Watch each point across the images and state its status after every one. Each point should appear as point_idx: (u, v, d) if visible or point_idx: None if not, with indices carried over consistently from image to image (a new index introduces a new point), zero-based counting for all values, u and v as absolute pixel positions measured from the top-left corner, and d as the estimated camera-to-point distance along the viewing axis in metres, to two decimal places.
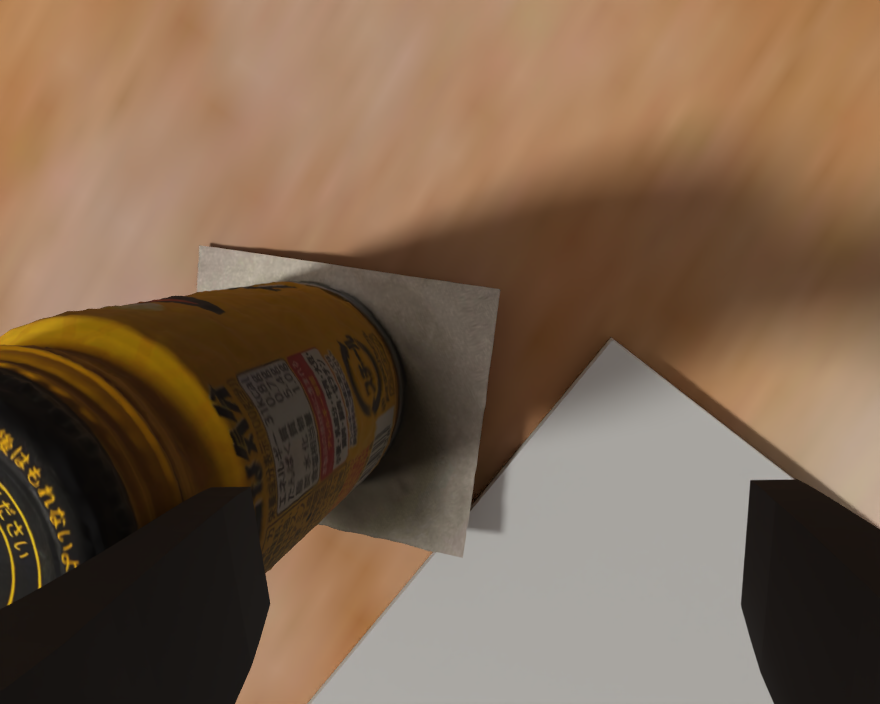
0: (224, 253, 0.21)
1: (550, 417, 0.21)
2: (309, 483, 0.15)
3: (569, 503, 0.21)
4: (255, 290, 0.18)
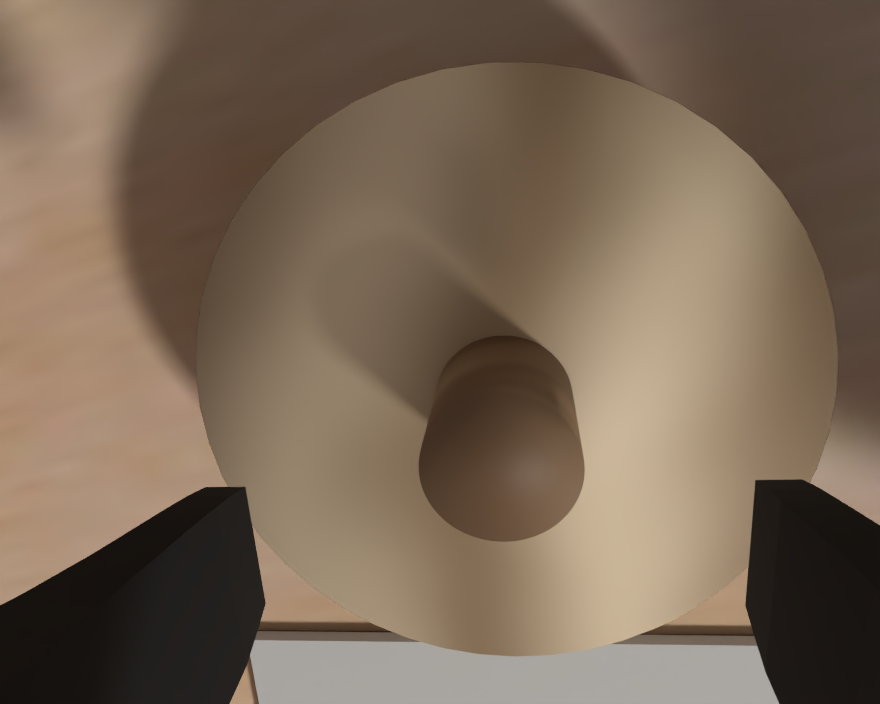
0: None
1: None
2: None
3: None
4: None
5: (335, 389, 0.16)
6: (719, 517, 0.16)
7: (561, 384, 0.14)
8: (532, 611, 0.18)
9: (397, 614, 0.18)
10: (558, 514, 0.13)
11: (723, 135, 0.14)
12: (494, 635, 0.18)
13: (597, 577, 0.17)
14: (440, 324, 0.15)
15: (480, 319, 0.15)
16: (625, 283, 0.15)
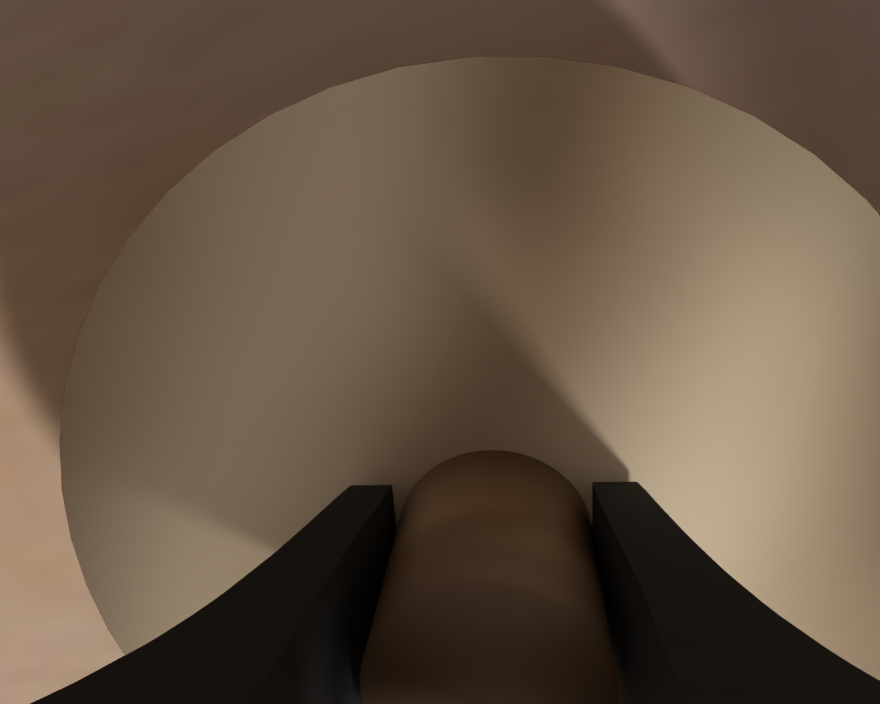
0: None
1: None
2: None
3: None
4: None
5: (257, 519, 0.11)
6: None
7: (579, 536, 0.10)
8: None
9: None
10: None
11: (825, 167, 0.09)
12: None
13: None
14: (402, 434, 0.11)
15: (461, 427, 0.11)
16: (672, 381, 0.10)
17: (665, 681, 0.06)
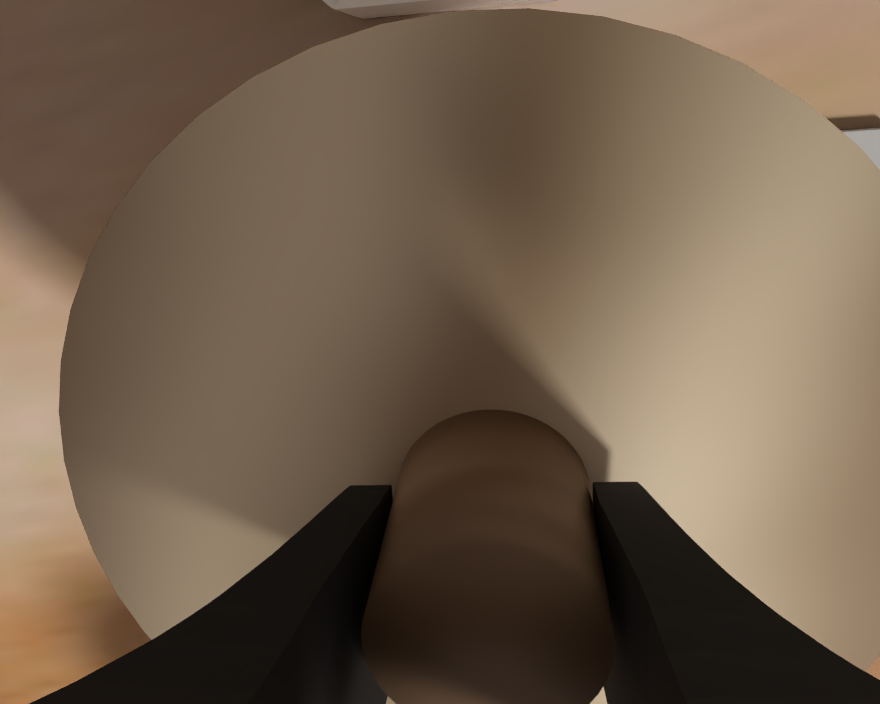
0: None
1: None
2: None
3: None
4: None
5: (258, 483, 0.12)
6: None
7: (574, 491, 0.10)
8: None
9: None
10: (575, 703, 0.09)
11: (817, 114, 0.09)
12: None
13: None
14: (398, 396, 0.11)
15: (456, 388, 0.11)
16: (665, 335, 0.10)
17: (666, 681, 0.06)
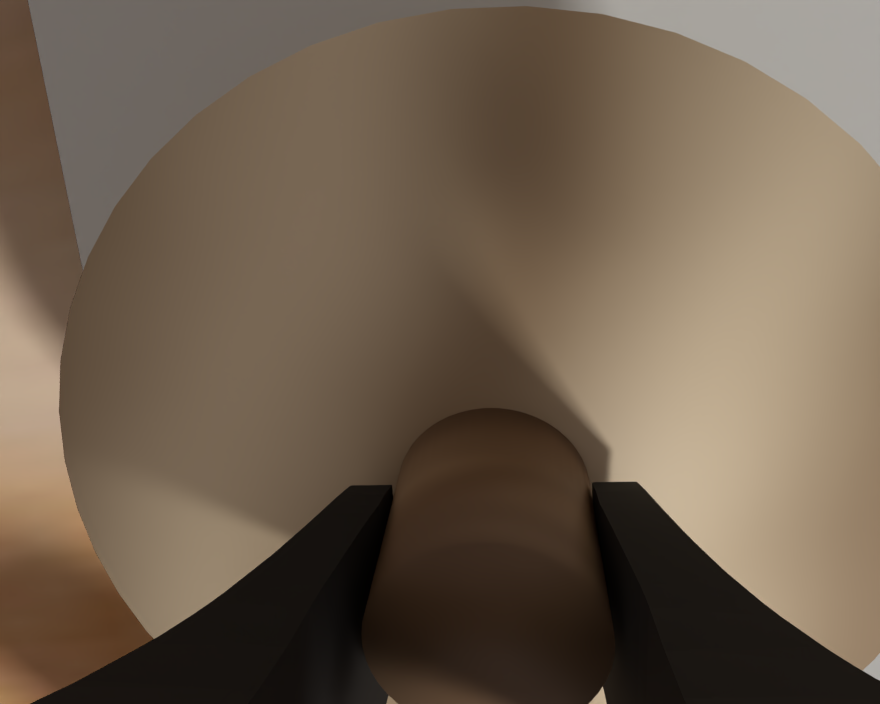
0: None
1: None
2: None
3: None
4: None
5: (259, 482, 0.12)
6: None
7: (574, 490, 0.10)
8: None
9: None
10: (575, 702, 0.09)
11: (817, 111, 0.09)
12: None
13: None
14: (397, 395, 0.11)
15: (455, 386, 0.11)
16: (665, 333, 0.10)
17: (665, 681, 0.06)
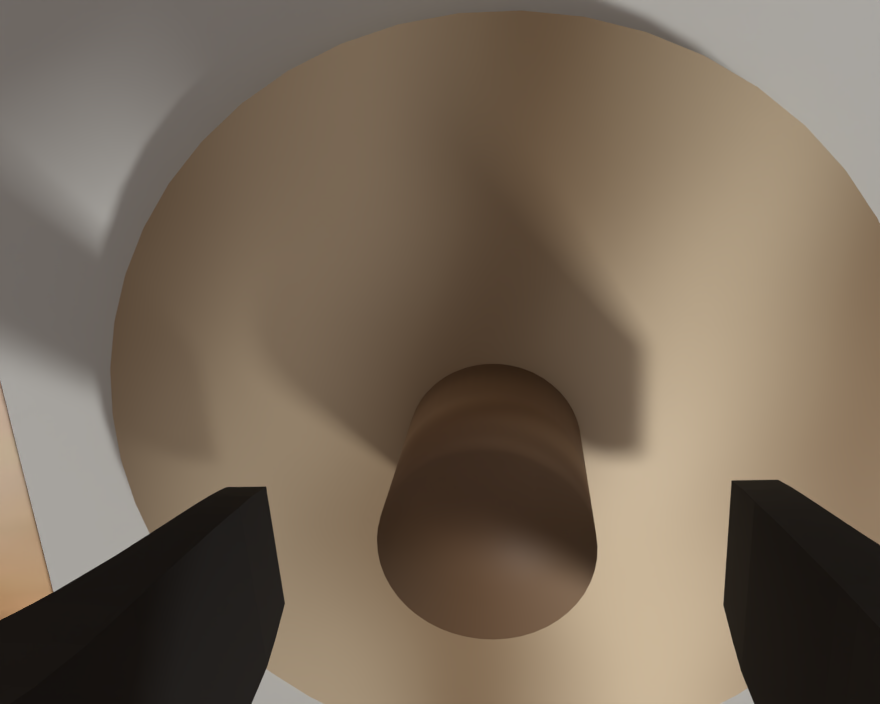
0: None
1: None
2: None
3: None
4: None
5: (285, 434, 0.13)
6: None
7: (564, 427, 0.11)
8: (538, 697, 0.14)
9: (374, 703, 0.15)
10: (564, 604, 0.10)
11: (767, 98, 0.11)
12: None
13: (617, 656, 0.14)
14: (410, 352, 0.12)
15: (461, 344, 0.12)
16: (643, 294, 0.12)
17: None
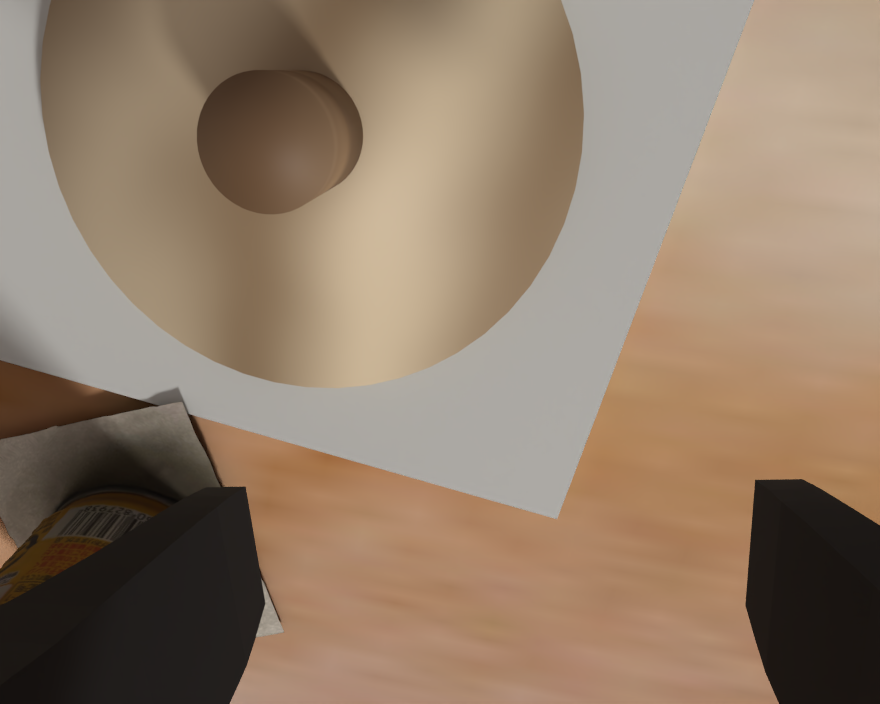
0: None
1: (41, 369, 0.22)
2: None
3: (101, 323, 0.21)
4: None
5: (162, 89, 0.18)
6: (464, 284, 0.19)
7: (344, 109, 0.17)
8: (296, 341, 0.20)
9: (180, 320, 0.20)
10: (305, 196, 0.16)
11: None
12: (261, 358, 0.20)
13: (355, 320, 0.20)
14: (262, 49, 0.18)
15: (297, 52, 0.18)
16: (422, 48, 0.17)
17: None
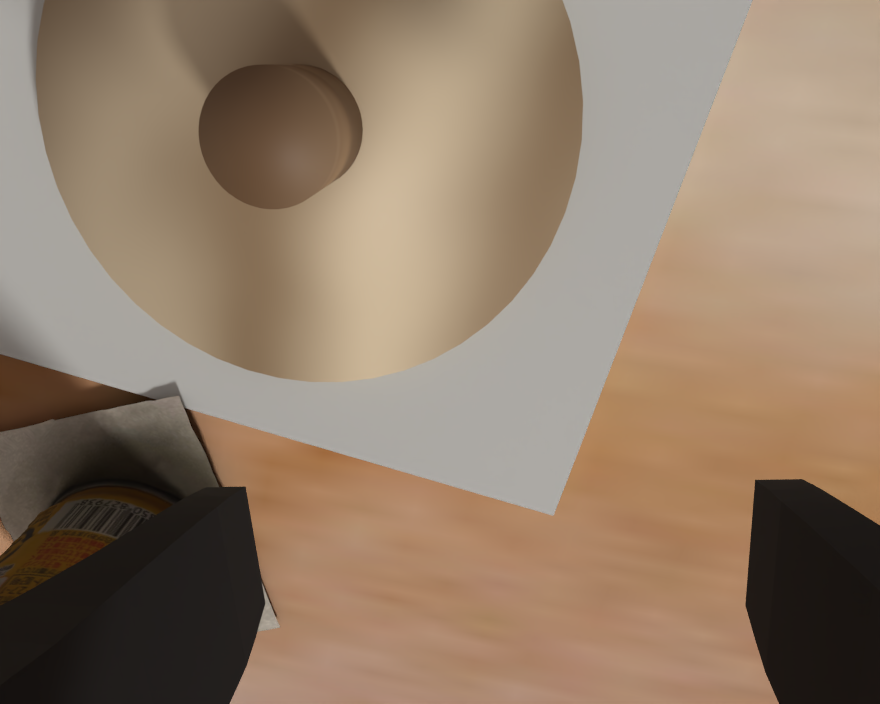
0: None
1: (38, 362, 0.22)
2: None
3: (98, 317, 0.21)
4: None
5: (160, 86, 0.18)
6: (467, 275, 0.19)
7: (344, 102, 0.17)
8: (299, 336, 0.20)
9: (182, 318, 0.20)
10: (309, 190, 0.16)
11: None
12: (264, 354, 0.20)
13: (358, 313, 0.20)
14: (259, 43, 0.18)
15: (295, 46, 0.18)
16: (420, 39, 0.17)
17: None
